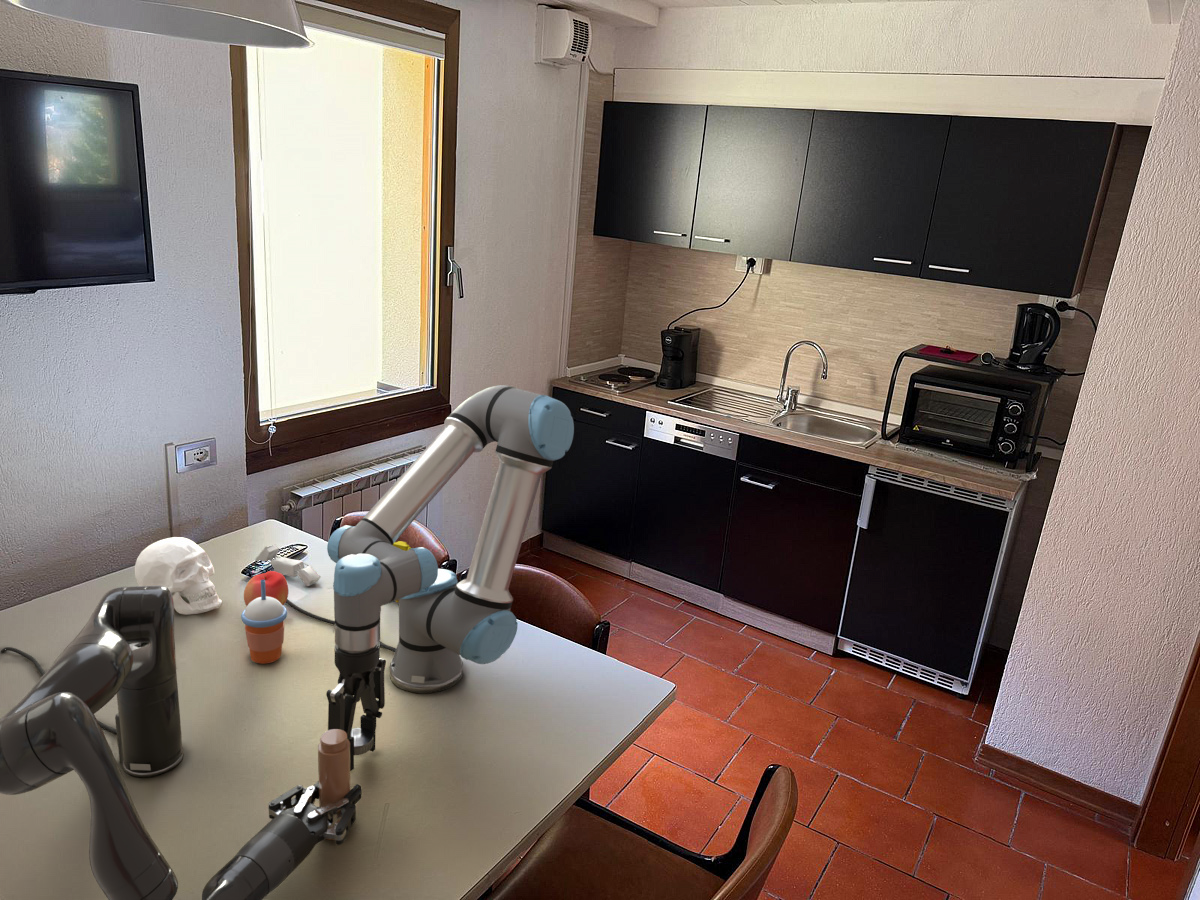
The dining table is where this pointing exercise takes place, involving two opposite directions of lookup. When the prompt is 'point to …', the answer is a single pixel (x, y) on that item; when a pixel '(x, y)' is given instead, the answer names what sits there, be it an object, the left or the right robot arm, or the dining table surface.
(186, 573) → the skull
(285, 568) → the clamp
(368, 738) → the lid
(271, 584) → the apple
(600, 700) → the dining table surface
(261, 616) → the cup with straw
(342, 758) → the jar
